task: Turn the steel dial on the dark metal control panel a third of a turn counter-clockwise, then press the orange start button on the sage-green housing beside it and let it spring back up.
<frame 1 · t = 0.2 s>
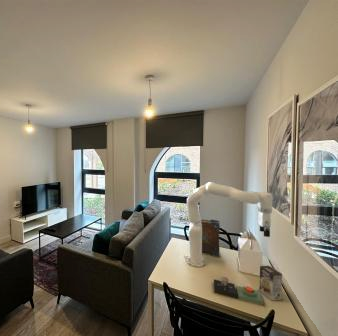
hand: (264, 233, 132), 31 cm above the table, tool pointing down, fingers open, 9 cm apart
control panel: (224, 290, 120), on the table
button housing: (249, 296, 115), on the table
coffee box: (270, 295, 116), on the table
start button: (249, 289, 114), point 4 cm above the table, slide at 0.1 cm
dial: (224, 282, 120), point 6 cm above the table, hinge at 0.0°
decorative book: (204, 252, 169), on the table
gable box: (249, 266, 146), on the table
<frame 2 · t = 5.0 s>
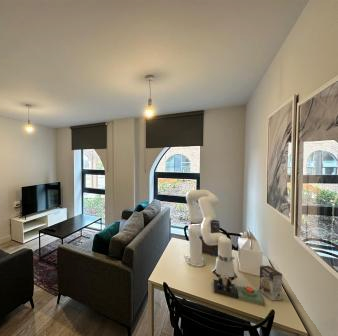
hand: (224, 284, 120), 4 cm above the table, tool pointing down, fingers closed on dial, 4 cm apart
dial: (224, 282, 120), point 6 cm above the table, hinge at 0.1°, touching gripper
everything else where it was.
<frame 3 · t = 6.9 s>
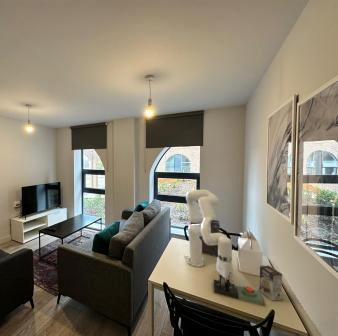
hand: (224, 284, 120), 4 cm above the table, tool pointing down, fingers closed on dial, 4 cm apart
dial: (224, 282, 120), point 6 cm above the table, hinge at 120.5°, touching gripper
everything else where it was.
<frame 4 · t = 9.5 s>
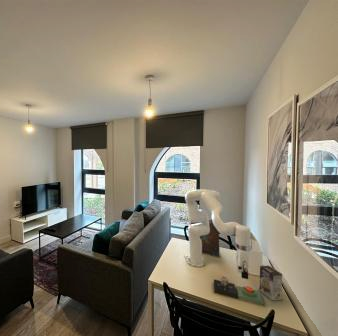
hand: (243, 273, 115), 14 cm above the table, tool pointing down, fingers open, 9 cm apart
dial: (224, 282, 120), point 6 cm above the table, hinge at 120.3°
everything else where it was.
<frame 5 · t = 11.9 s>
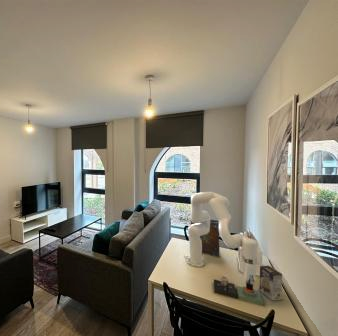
hand: (249, 288, 114), 5 cm above the table, tool pointing down, fingers closed
start button: (249, 290, 114), point 4 cm above the table, slide at -0.2 cm, touching gripper
everything else where it was.
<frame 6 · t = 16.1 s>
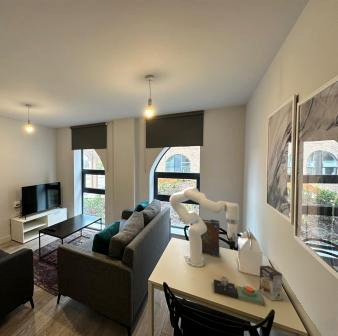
hand: (232, 246, 131), 23 cm above the table, tool pointing down, fingers closed
start button: (249, 289, 114), point 4 cm above the table, slide at 0.1 cm
everything else where it was.
at the end: dial at +120° (first picture: +0°); start button pushed in 1.1 cm at the most during the clip and back out by the end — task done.
